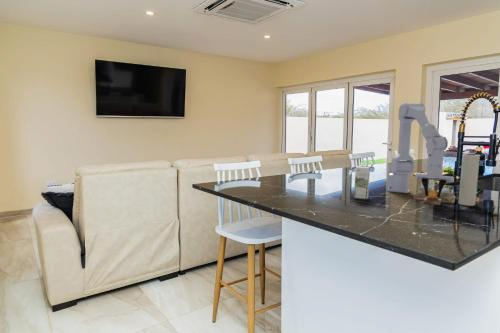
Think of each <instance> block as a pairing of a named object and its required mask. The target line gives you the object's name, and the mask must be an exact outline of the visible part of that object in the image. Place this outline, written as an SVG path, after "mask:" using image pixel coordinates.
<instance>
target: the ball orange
mask: <svg viewBox="0 0 500 333" xmlns="http://www.w3.org/2000/svg"><path fill="white" fill-rule="evenodd" d="M437 196H438V192H437V190H436V189H434V190H429V191H428V197H429V198H432V199H435V198H437Z"/></svg>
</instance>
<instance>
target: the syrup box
mask: <svg viewBox="0 0 500 333" xmlns="http://www.w3.org/2000/svg"><path fill="white" fill-rule="evenodd" d="M354 171H355V174H354V175H355V176H354V194H353V198H354V199H358V200H368V199H369V189H370V188H369V187H370V171H371V167H370V166H369V165H368V166H366V165H356V166H355V170H354Z"/></svg>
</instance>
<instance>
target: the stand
mask: <svg viewBox="0 0 500 333" xmlns="http://www.w3.org/2000/svg"><path fill="white" fill-rule="evenodd" d="M422 204H426V205H427V204H428V205H434V206H435V205H436V206H440V205H441V204H442V202H441V199H438V198H435V199H432V198H429V197H425V198H424V199H423V200H422Z"/></svg>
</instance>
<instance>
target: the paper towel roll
mask: <svg viewBox="0 0 500 333" xmlns="http://www.w3.org/2000/svg"><path fill="white" fill-rule="evenodd" d="M480 157H481V156H480V154H476V153H475V154H473V153H466V154H465V153H464V154H462V159H461V168H460V169H461V170H460V180H459V190H458V191H459V193H458V204H459V205H461V206H470V207H473V206H476V201H477V200H476V199H477V190H478V180H479V179H478V178H479V167H480V159H481V158H480Z"/></svg>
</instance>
